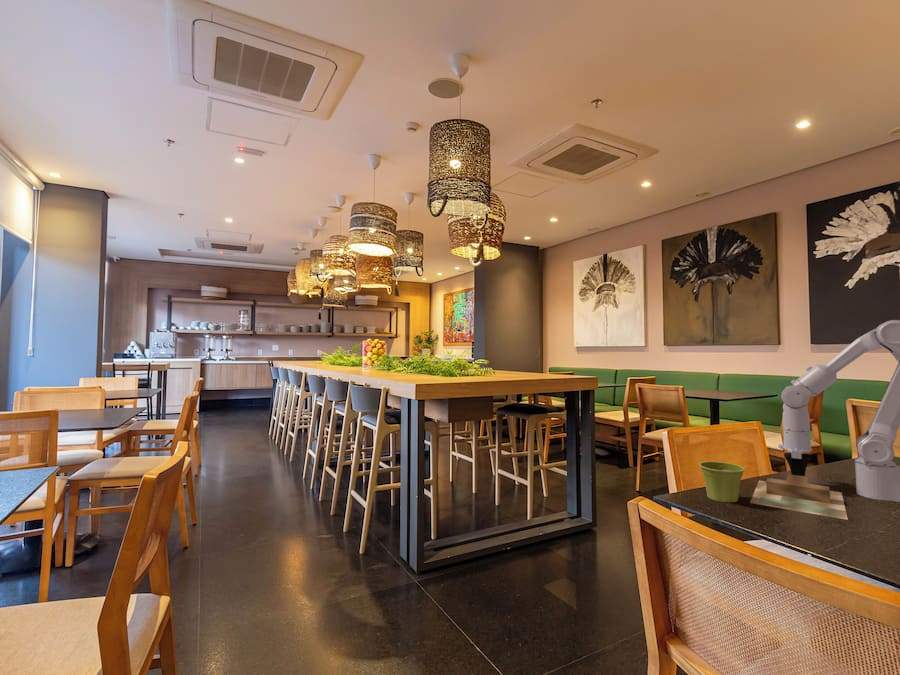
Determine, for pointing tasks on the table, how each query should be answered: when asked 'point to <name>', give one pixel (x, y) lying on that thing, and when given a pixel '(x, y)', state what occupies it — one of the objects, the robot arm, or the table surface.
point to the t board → (801, 503)
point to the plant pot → (722, 480)
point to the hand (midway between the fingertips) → (798, 481)
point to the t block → (798, 489)
